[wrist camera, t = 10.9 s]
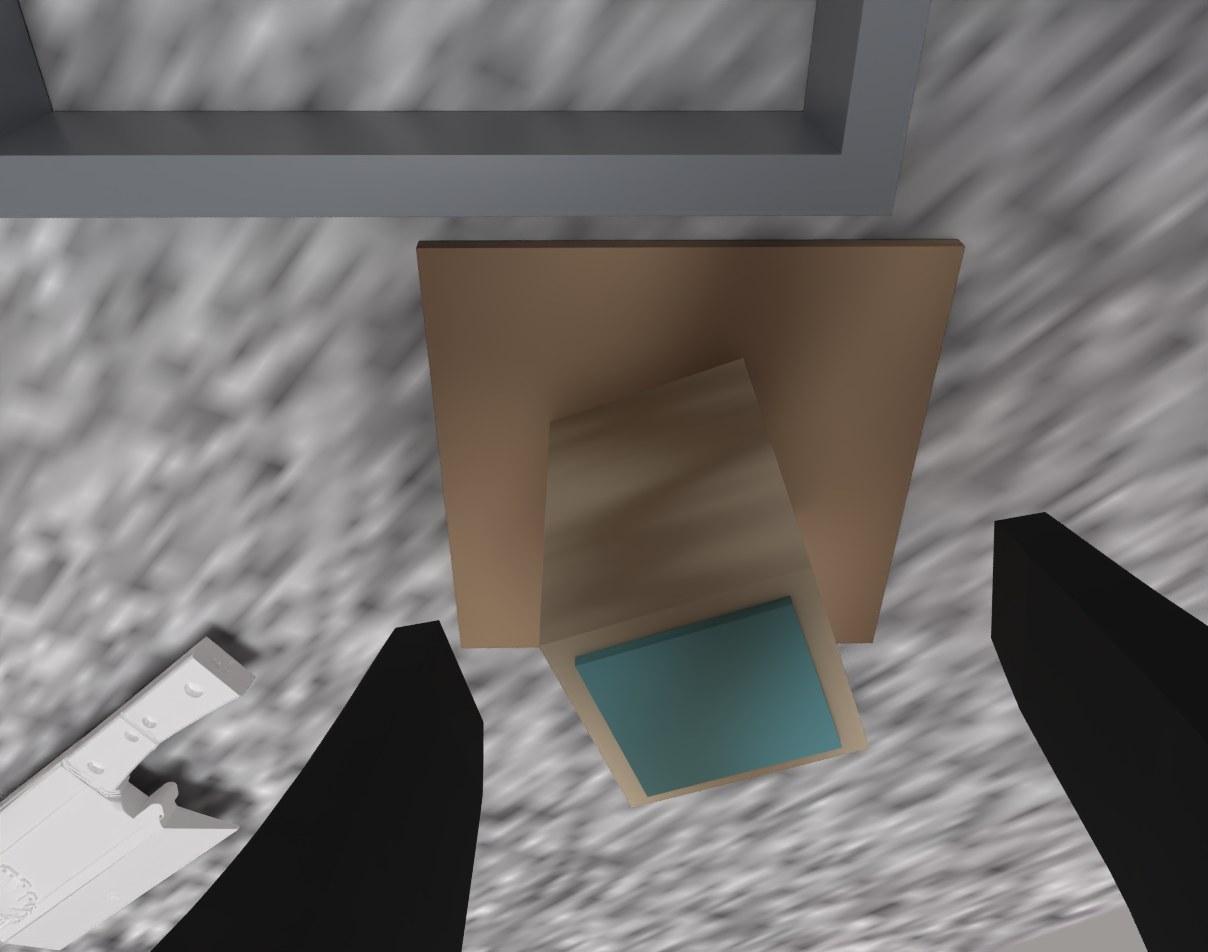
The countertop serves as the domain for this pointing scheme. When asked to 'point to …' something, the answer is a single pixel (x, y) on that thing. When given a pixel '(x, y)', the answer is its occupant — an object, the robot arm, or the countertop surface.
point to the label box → (687, 593)
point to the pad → (668, 353)
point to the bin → (479, 148)
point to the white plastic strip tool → (109, 811)
